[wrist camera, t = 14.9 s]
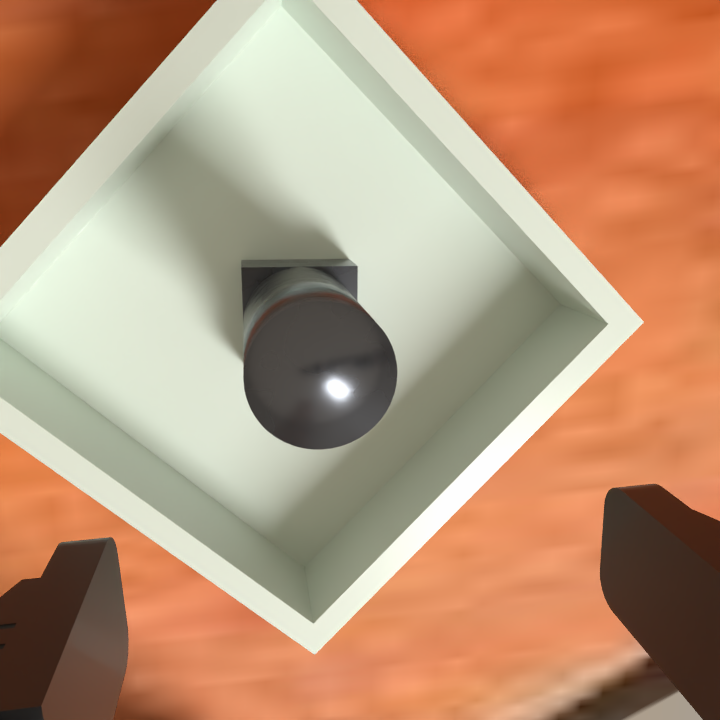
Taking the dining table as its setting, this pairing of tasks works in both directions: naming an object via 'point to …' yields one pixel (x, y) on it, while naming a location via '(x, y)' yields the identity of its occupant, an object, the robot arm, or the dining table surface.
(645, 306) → the dining table surface
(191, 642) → the dining table surface
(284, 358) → the dark grey stamp
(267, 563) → the sage bin
